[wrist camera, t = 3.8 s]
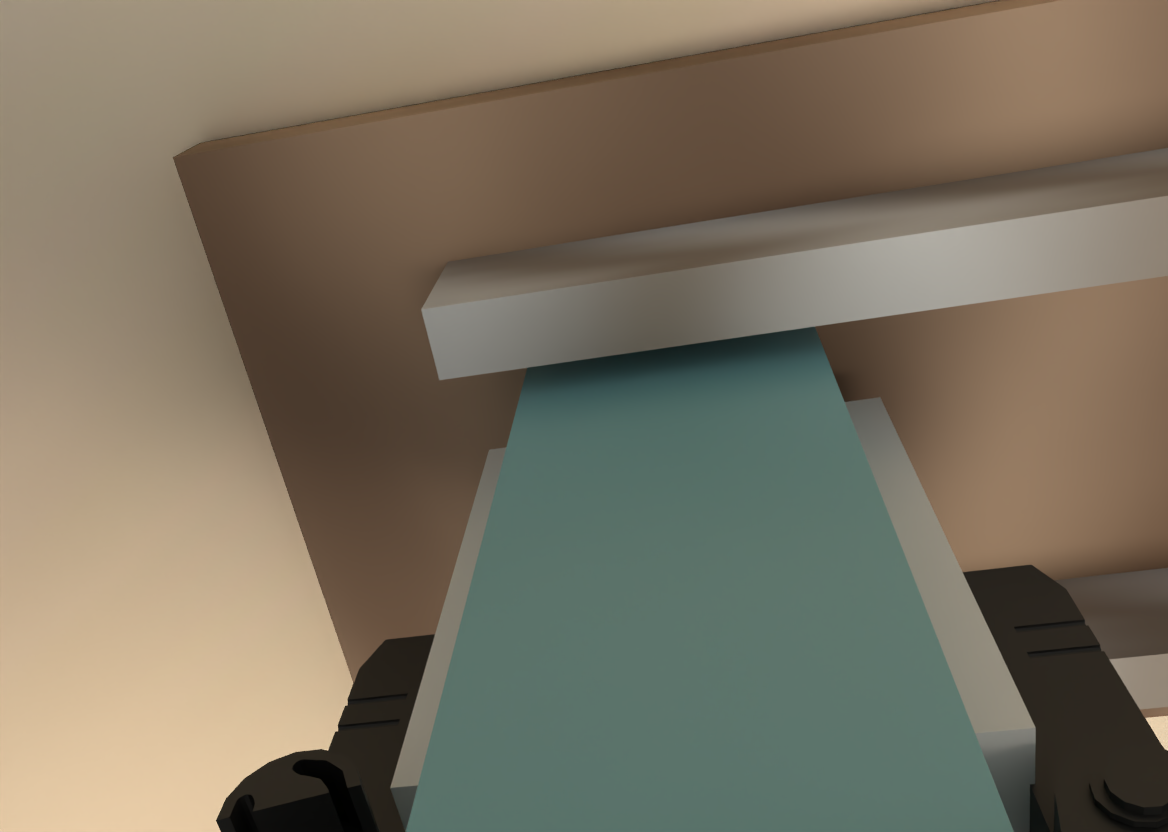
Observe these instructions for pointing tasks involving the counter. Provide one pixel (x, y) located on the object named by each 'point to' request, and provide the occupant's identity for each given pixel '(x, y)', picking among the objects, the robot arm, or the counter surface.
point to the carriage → (697, 617)
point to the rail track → (734, 284)
